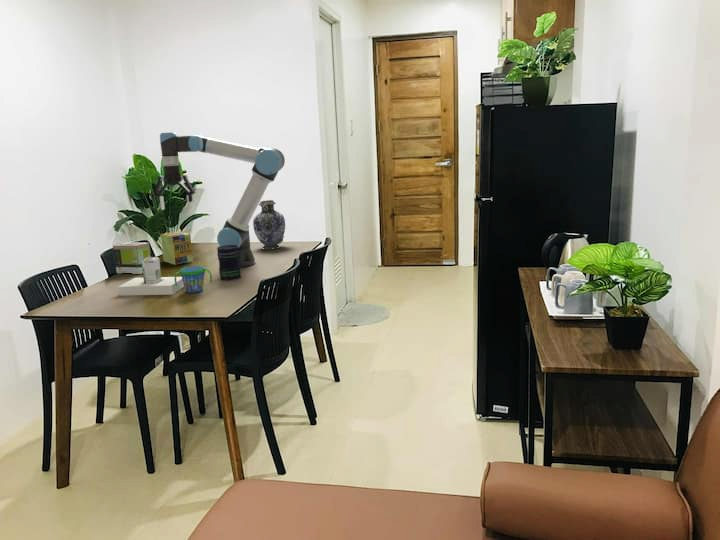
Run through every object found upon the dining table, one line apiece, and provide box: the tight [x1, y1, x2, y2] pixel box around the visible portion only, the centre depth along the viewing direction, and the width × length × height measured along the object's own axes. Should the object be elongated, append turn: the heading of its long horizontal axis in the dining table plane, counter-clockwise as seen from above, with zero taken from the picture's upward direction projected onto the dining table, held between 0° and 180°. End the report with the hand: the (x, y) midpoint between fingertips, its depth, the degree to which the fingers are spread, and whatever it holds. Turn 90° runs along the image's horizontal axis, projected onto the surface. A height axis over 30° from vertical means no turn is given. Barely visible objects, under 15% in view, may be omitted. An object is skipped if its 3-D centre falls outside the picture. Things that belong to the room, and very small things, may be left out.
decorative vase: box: [252, 199, 286, 250], centre depth 350 cm, size 21×19×28 cm
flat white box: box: [117, 276, 185, 296], centre depth 265 cm, size 24×16×4 cm, turn 85°
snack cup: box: [174, 265, 213, 294], centre depth 260 cm, size 16×10×10 cm
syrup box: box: [142, 256, 162, 284], centre depth 264 cm, size 6×6×14 cm
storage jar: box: [216, 245, 242, 282], centre depth 281 cm, size 10×10×15 cm
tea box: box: [112, 241, 152, 275], centre depth 304 cm, size 15×10×15 cm
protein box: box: [160, 231, 194, 266], centre depth 324 cm, size 10×15×16 cm
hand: (176, 209), depth 293 cm, fingers open, 13 cm apart
